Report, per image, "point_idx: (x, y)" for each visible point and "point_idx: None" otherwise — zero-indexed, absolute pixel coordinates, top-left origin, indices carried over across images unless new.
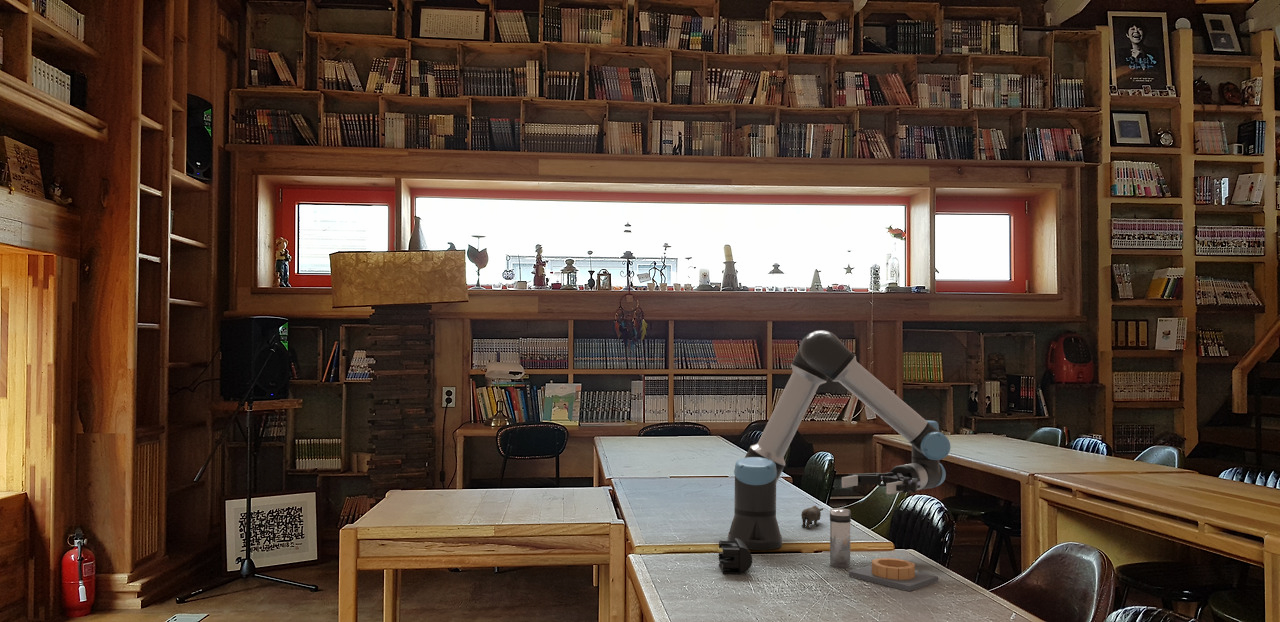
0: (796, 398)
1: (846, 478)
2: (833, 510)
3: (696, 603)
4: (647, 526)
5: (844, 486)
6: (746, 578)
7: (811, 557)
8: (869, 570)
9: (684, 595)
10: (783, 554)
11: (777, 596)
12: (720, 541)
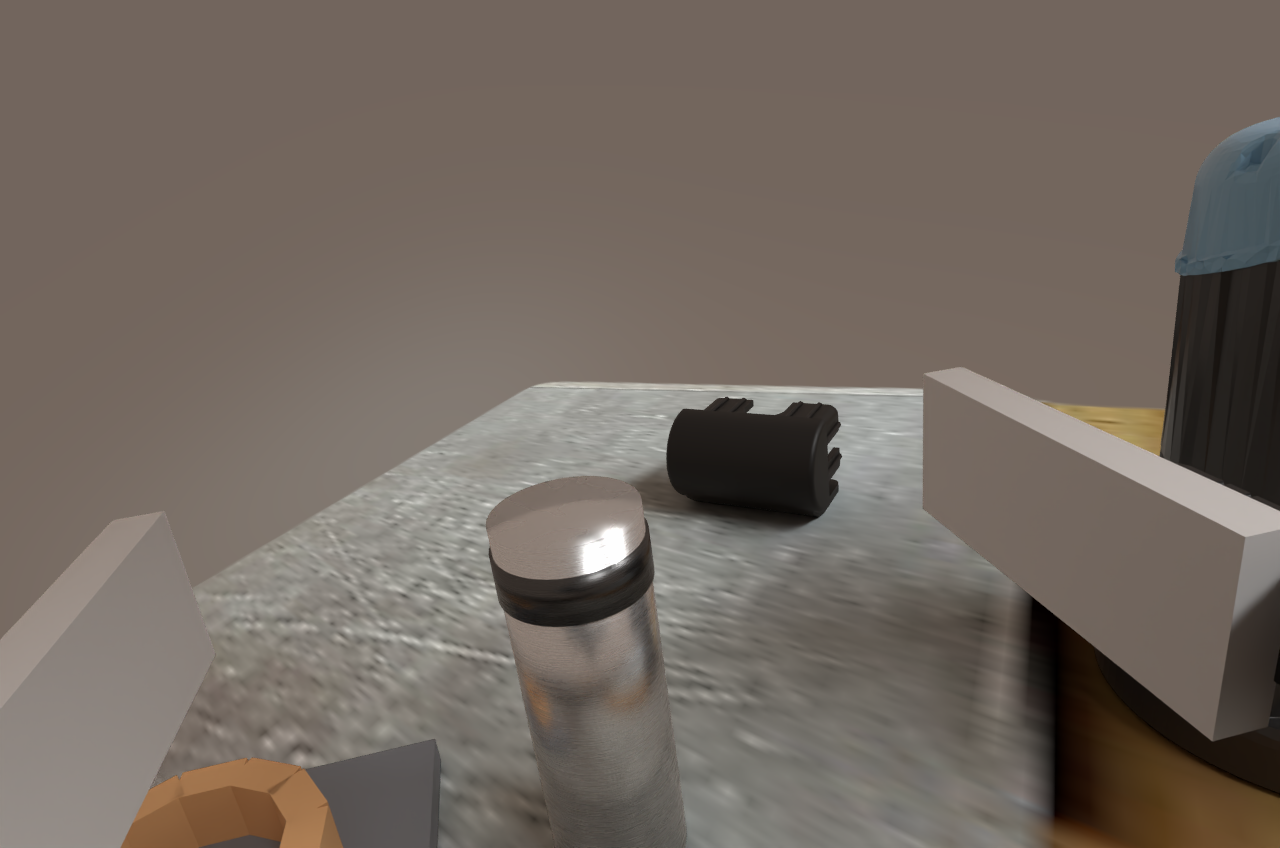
0: None
1: (958, 410)
2: (580, 482)
3: (534, 413)
4: None
5: (930, 498)
6: (649, 500)
7: (882, 802)
8: (358, 839)
9: (595, 408)
10: (987, 704)
11: (454, 505)
12: (816, 404)
